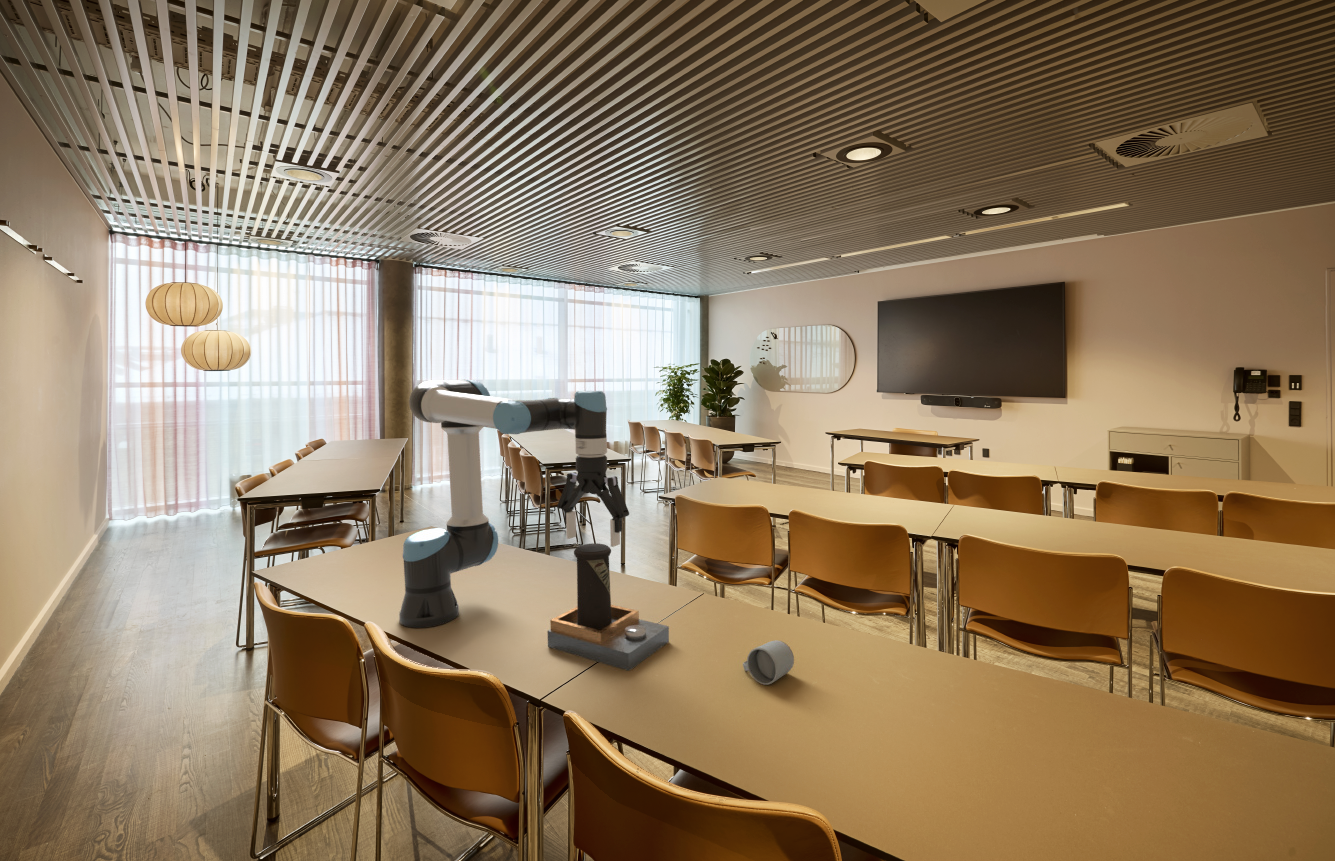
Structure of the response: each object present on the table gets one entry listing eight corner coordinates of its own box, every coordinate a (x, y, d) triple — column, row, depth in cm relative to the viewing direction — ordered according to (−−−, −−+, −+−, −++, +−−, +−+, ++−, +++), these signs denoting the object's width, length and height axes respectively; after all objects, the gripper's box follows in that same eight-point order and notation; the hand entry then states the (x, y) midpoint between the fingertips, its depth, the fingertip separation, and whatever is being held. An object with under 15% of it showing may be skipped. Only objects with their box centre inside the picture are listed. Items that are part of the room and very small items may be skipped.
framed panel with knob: (547, 646, 147) (547, 620, 147) (592, 622, 162) (591, 598, 161) (628, 670, 135) (628, 642, 134) (668, 641, 149) (668, 616, 149)
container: (606, 633, 145) (604, 551, 143) (571, 630, 147) (568, 549, 145) (616, 619, 153) (615, 541, 152) (583, 616, 155) (581, 540, 154)
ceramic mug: (796, 675, 132) (796, 641, 131) (776, 690, 126) (776, 654, 125) (755, 661, 139) (755, 628, 138) (734, 674, 133) (734, 640, 132)
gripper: (541, 453, 150) (544, 537, 152) (624, 460, 137) (625, 552, 139) (562, 450, 156) (564, 531, 158) (643, 456, 143) (643, 544, 145)
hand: (592, 541), depth 148 cm, fingers open, 13 cm apart
